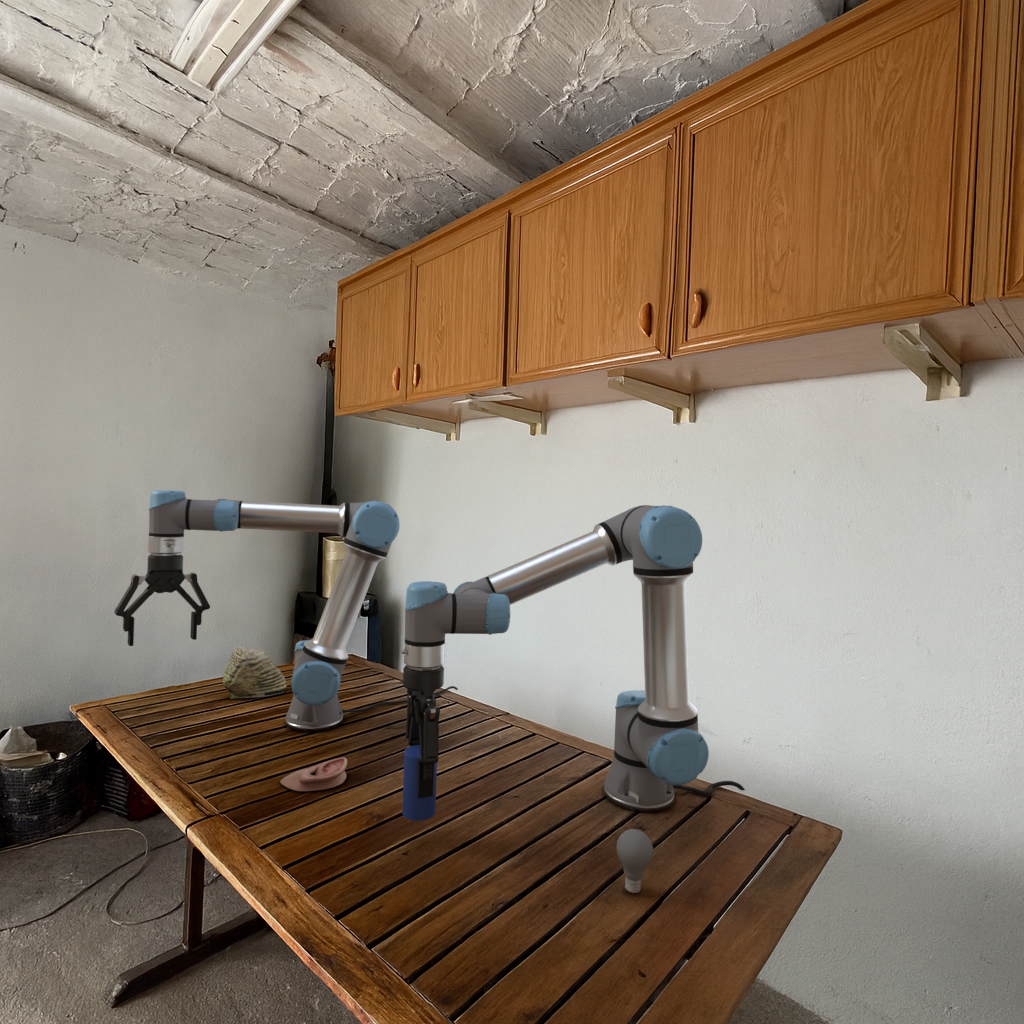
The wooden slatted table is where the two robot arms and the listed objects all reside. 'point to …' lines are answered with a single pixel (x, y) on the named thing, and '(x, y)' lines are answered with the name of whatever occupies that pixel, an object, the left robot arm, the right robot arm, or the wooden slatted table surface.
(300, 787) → the anatomical model
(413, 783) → the canister
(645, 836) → the light bulb
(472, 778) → the wooden slatted table surface
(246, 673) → the fossil
